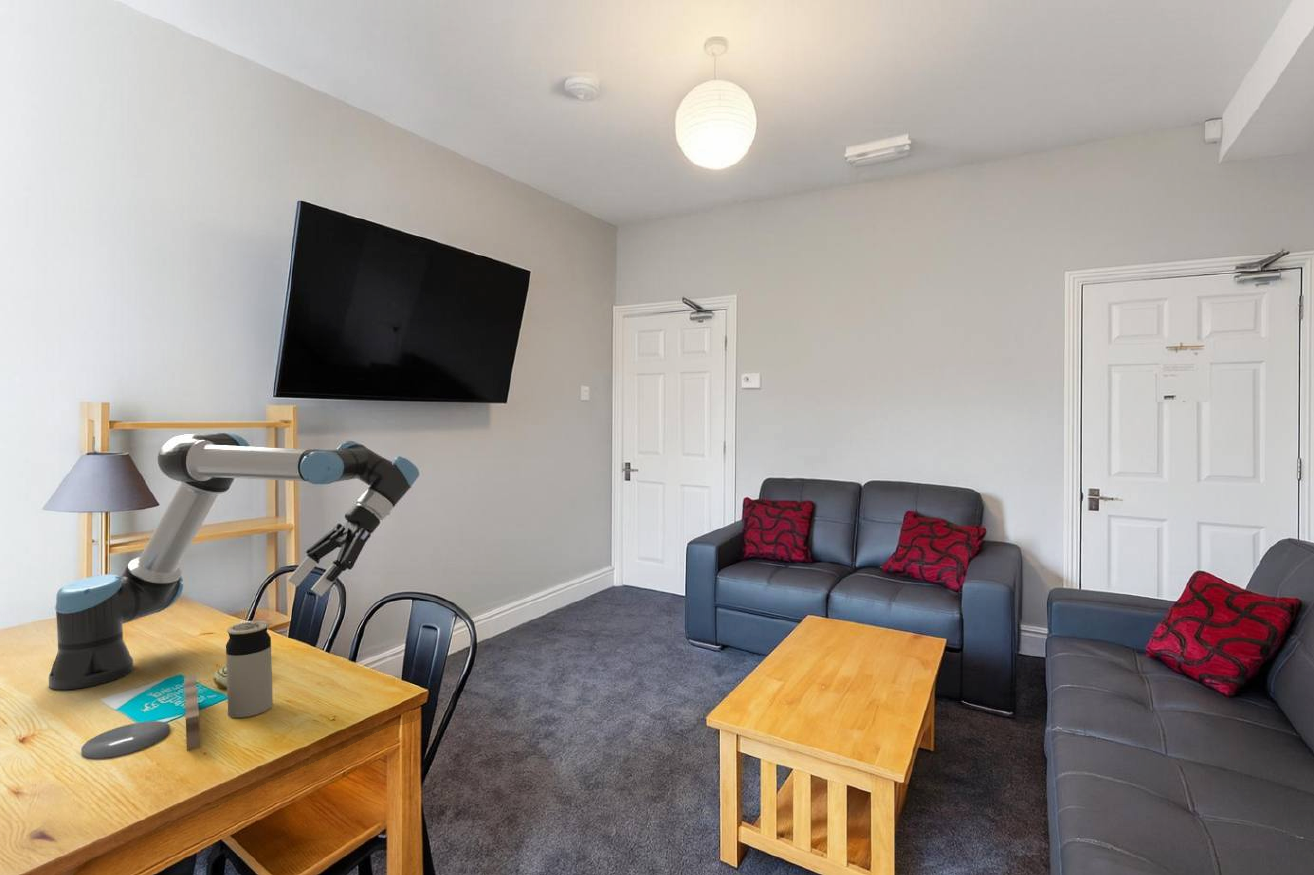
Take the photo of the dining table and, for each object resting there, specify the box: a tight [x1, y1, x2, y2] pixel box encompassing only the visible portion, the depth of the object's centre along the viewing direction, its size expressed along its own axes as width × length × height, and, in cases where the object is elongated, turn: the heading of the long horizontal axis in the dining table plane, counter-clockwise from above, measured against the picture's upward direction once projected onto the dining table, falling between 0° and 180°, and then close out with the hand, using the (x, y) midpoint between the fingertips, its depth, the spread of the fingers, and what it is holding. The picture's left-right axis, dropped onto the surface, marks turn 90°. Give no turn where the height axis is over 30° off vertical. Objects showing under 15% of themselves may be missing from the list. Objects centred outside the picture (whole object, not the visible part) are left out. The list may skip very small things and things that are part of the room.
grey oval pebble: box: [80, 720, 171, 760], centre depth 120 cm, size 13×13×1 cm
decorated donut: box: [212, 666, 227, 690], centre depth 147 cm, size 10×11×4 cm
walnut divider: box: [183, 674, 201, 751], centre depth 126 cm, size 24×2×6 cm, turn 38°
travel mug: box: [225, 620, 274, 719], centre depth 132 cm, size 8×8×18 cm
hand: (303, 588), depth 140 cm, fingers open, 13 cm apart
